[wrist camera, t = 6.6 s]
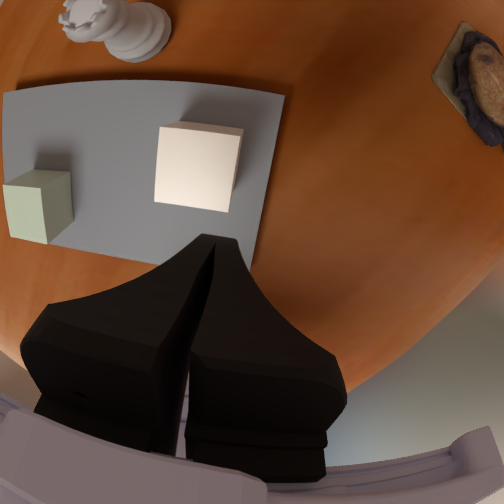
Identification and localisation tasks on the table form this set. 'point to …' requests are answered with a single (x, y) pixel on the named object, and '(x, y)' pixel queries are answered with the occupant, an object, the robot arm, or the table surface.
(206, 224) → the panel
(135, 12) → the rook chess piece
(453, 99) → the abalone
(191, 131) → the cream matte cube
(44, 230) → the pale green cube
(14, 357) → the table surface
